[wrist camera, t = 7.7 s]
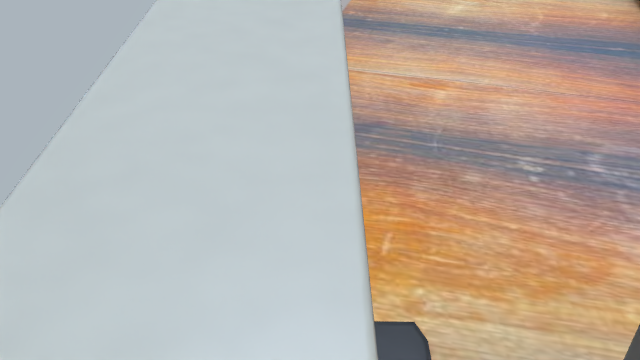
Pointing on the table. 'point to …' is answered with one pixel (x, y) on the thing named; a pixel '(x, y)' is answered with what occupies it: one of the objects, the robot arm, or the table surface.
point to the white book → (198, 199)
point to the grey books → (634, 347)
